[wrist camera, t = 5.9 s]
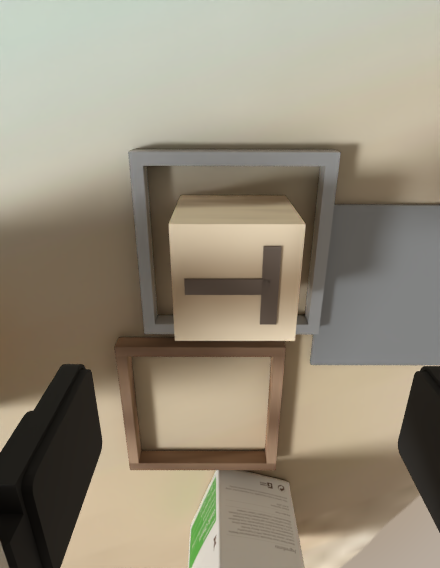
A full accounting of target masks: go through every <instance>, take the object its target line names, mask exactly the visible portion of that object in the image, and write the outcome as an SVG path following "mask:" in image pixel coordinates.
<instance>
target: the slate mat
mask: <svg viewBox="0 0 440 568" xmlns="http://www.w3.org/2000/svg"><path fill="white" fill-rule="evenodd" d="M310 364H311V365H440V205H392V204H334V211H333V219H332V228H331V236H330V244H329V252H328V260H327V268H326V277H325V285H324V293H323V301H322V309H321V317H320V326H319V334H313V341H312V349H311V358H310Z"/></svg>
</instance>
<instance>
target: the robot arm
mask: <svg viewBox="0 0 440 568" xmlns="http://www.w3.org/2000/svg"><path fill="white" fill-rule="evenodd" d="M101 449H102V435H101V429H100V423H99V416H98V410H97V404H96V397H95V391H94V384H93V378H92V372H91V370H89V369H85V366H84V365H83V364H63V365H62V366H61V367H60V369H59V370H58V372H57V374H56V375H55V377H54V378H53V380H52V382H51V383H50V385H49V386H48V388H47V390H46V391H45V393H44V395H43V396H42V398H41V399H40V401H39V403H38V404H37V406H36V407H35V409H34V411H29V412H27V413H26V414H25V415H24V417H23V418H22V420H21V421H20V423H19V424H18V426H17V427H16V429H15V430H14V432H13V434H12V435H11V437H10V438H9V440H8V441H7V443H6V445H5V446H4V448H3V449H2V451H1V452H0V568H60V567H61V564H62V561H63V559H64V556H65V553H66V550H67V547H68V544H69V542H70V539H71V536H72V533H73V530H74V527H75V524H76V522H77V519H78V516H79V513H80V510H81V507H82V504H83V502H84V499H85V496H86V493H87V490H88V487H89V484H90V482H91V479H92V476H93V473H94V470H95V467H96V464H97V462H98V459H99V456H100V453H101ZM398 449H399V453H400V455H401V457H402V459H403V461H404V463H405V465H406V467H407V469H408V471H409V473H410V475H411V477H412V479H413V481H414V483H415V485H416V487H417V489H418V491H419V493H420V495H421V496H422V498H423V501H424V503H425V504H426V506H427V508H428V510H429V512H430V514H431V516H432V518H433V520H434V522H435V524H436V526H437V528H438V530H439V532H440V366H424V367H422V368H421V370H420V371H417V372H416V373H415V375H414V378H413V382H412V386H411V391H410V395H409V399H408V403H407V407H406V411H405V415H404V419H403V423H402V427H401V431H400V435H399V439H398Z"/></svg>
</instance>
